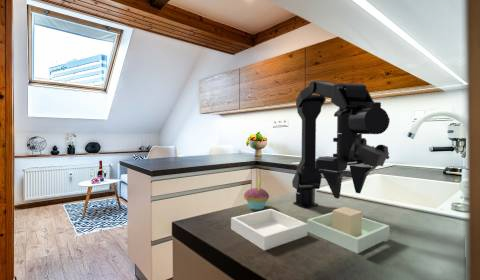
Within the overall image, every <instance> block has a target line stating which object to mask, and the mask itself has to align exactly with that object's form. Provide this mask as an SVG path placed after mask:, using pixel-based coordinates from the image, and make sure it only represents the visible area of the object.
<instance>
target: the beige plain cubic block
mask: <svg viewBox="0 0 480 280" xmlns="http://www.w3.org/2000/svg"><path fill="white" fill-rule="evenodd" d="M332 212H333V220H332V228H333V229H336V230H338V231H341V232H344V233H346V234H349V235H351V236H354V237H359V236H361V235H362V218H363V211H360V210H357V209H353V208H349V207H346V206H342V207H339V208H335V209H332Z"/></svg>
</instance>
